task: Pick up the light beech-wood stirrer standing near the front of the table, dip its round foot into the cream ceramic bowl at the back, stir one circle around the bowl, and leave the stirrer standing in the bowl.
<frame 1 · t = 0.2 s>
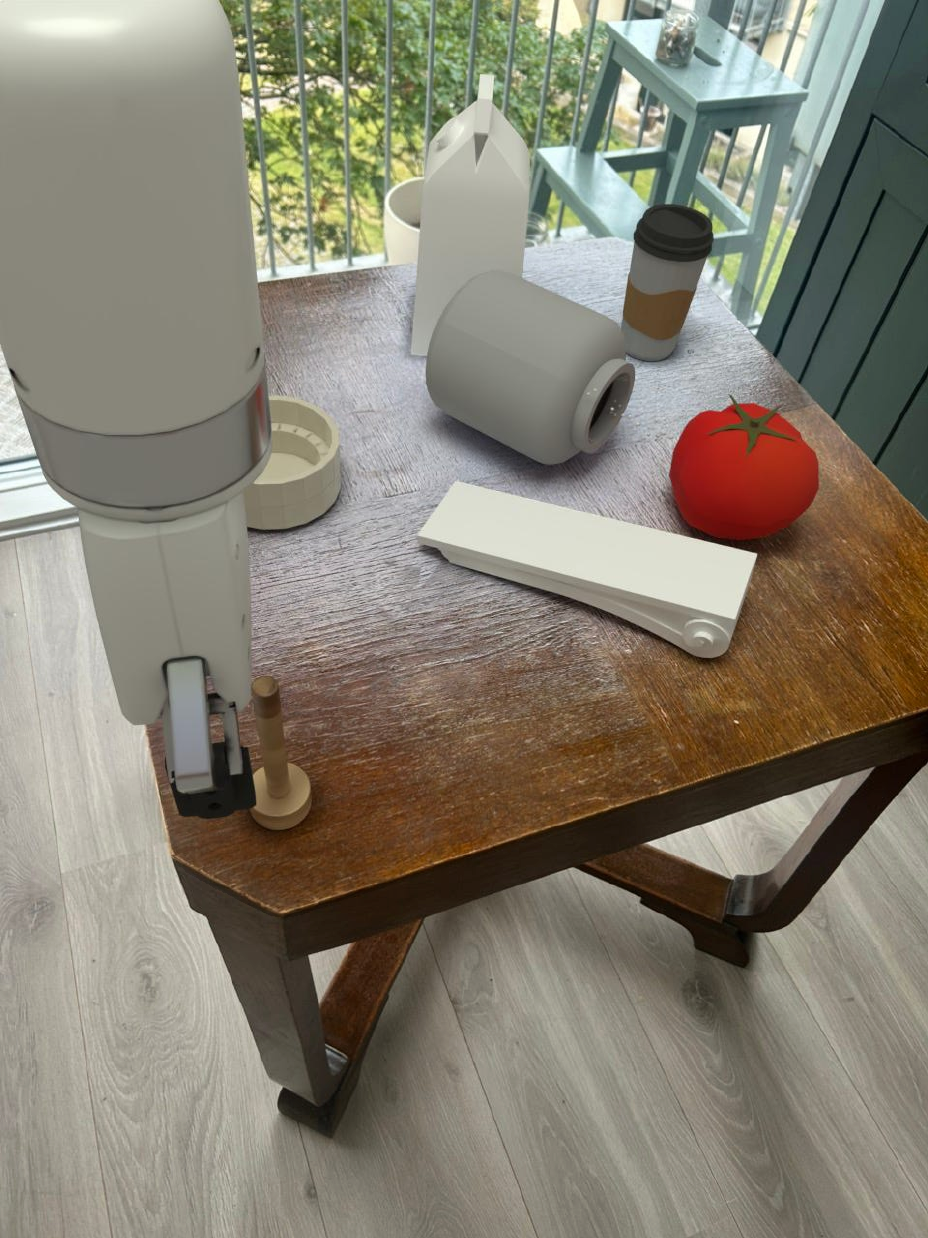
hand: (215, 714, 44), 24 cm above the table, tool pointing down, fingers open, 9 cm apart
pill bottle: (215, 362, 102), on the table
wall bracket: (577, 577, 85), on the table
milk: (464, 330, 110), on the table
bowl: (274, 487, 90), on the table
stirrer: (280, 802, 68), on the table
tomato: (724, 519, 92), on the table
coffee cup: (645, 347, 110), on the table
jar: (559, 439, 98), on the table
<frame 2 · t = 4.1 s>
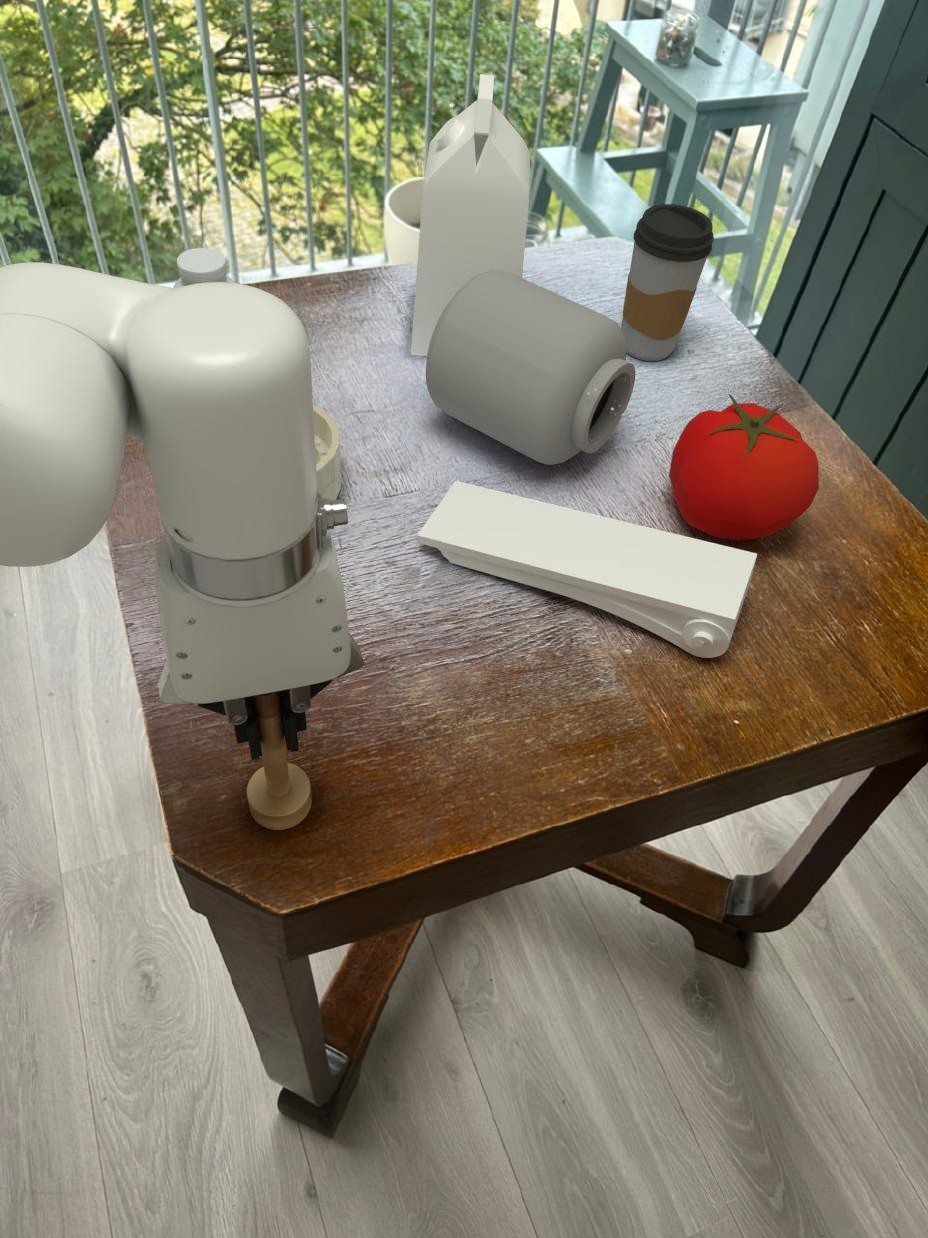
hand: (271, 736, 62), 9 cm above the table, tool pointing down, fingers closed on stirrer
stirrer: (280, 802, 68), on the table, touching gripper
everything else where it was.
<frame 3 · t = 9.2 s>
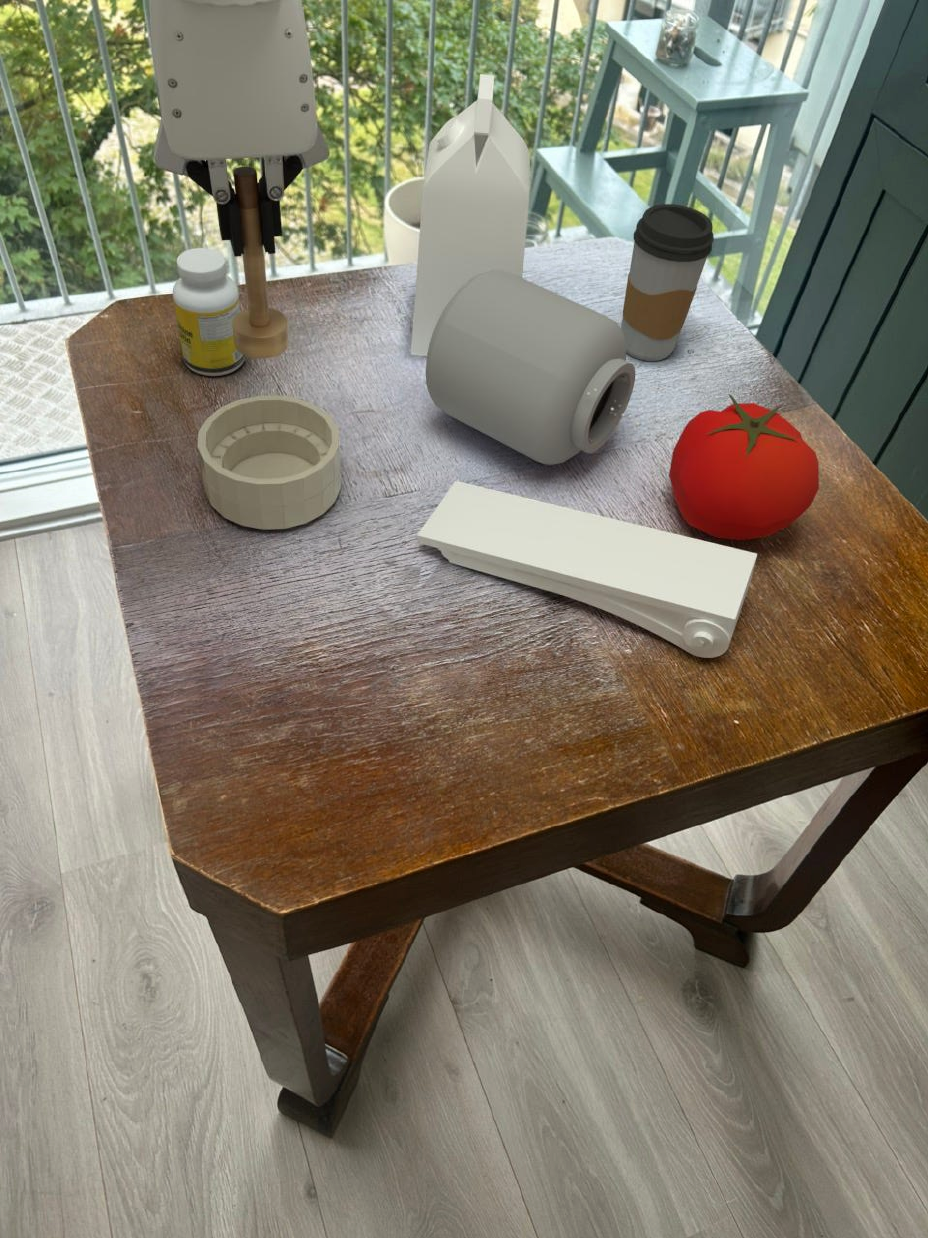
hand: (252, 244, 71), 24 cm above the table, tool pointing down, fingers closed on stirrer
stirrer: (262, 343, 78), point 16 cm above the table, touching gripper
everything else where it was.
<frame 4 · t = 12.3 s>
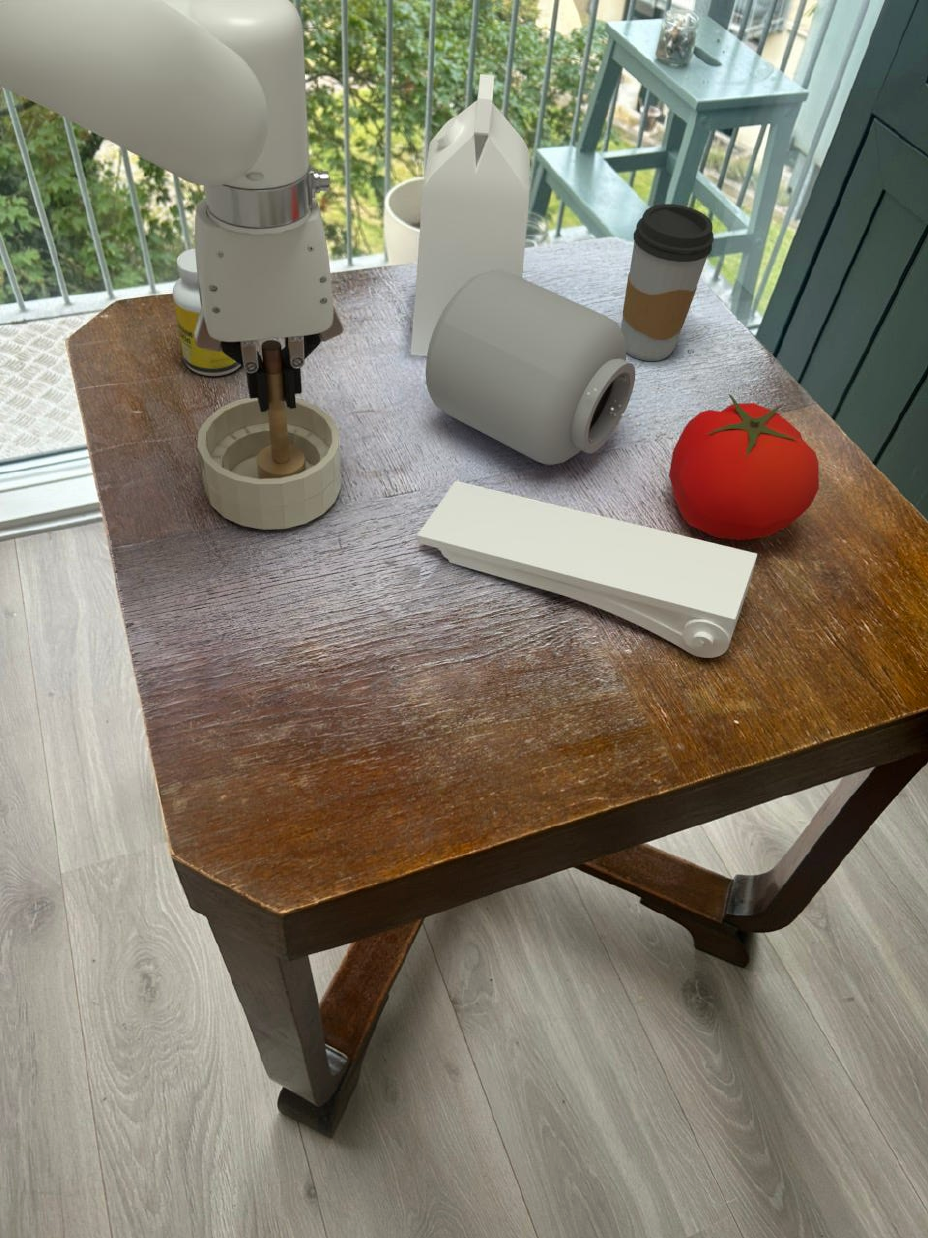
hand: (275, 399, 83), 10 cm above the table, tool pointing down, fingers closed on stirrer
stirrer: (282, 474, 89), point 1 cm above the table, touching gripper
everything else where it was.
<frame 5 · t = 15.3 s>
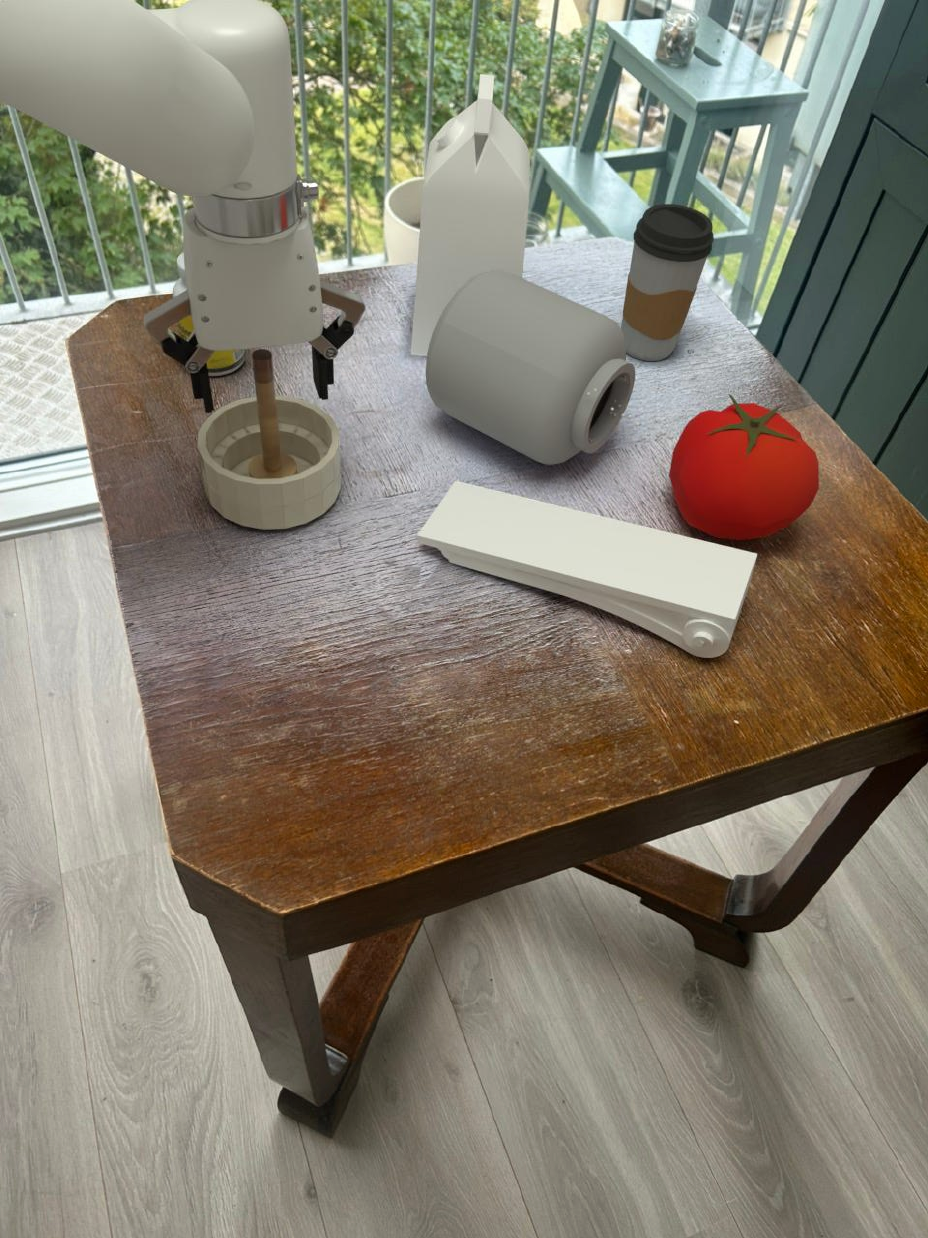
hand: (265, 396, 82), 10 cm above the table, tool pointing down, fingers open, 9 cm apart
stirrer: (274, 483, 89), point 1 cm above the table, touching bowl
everything else where it was.
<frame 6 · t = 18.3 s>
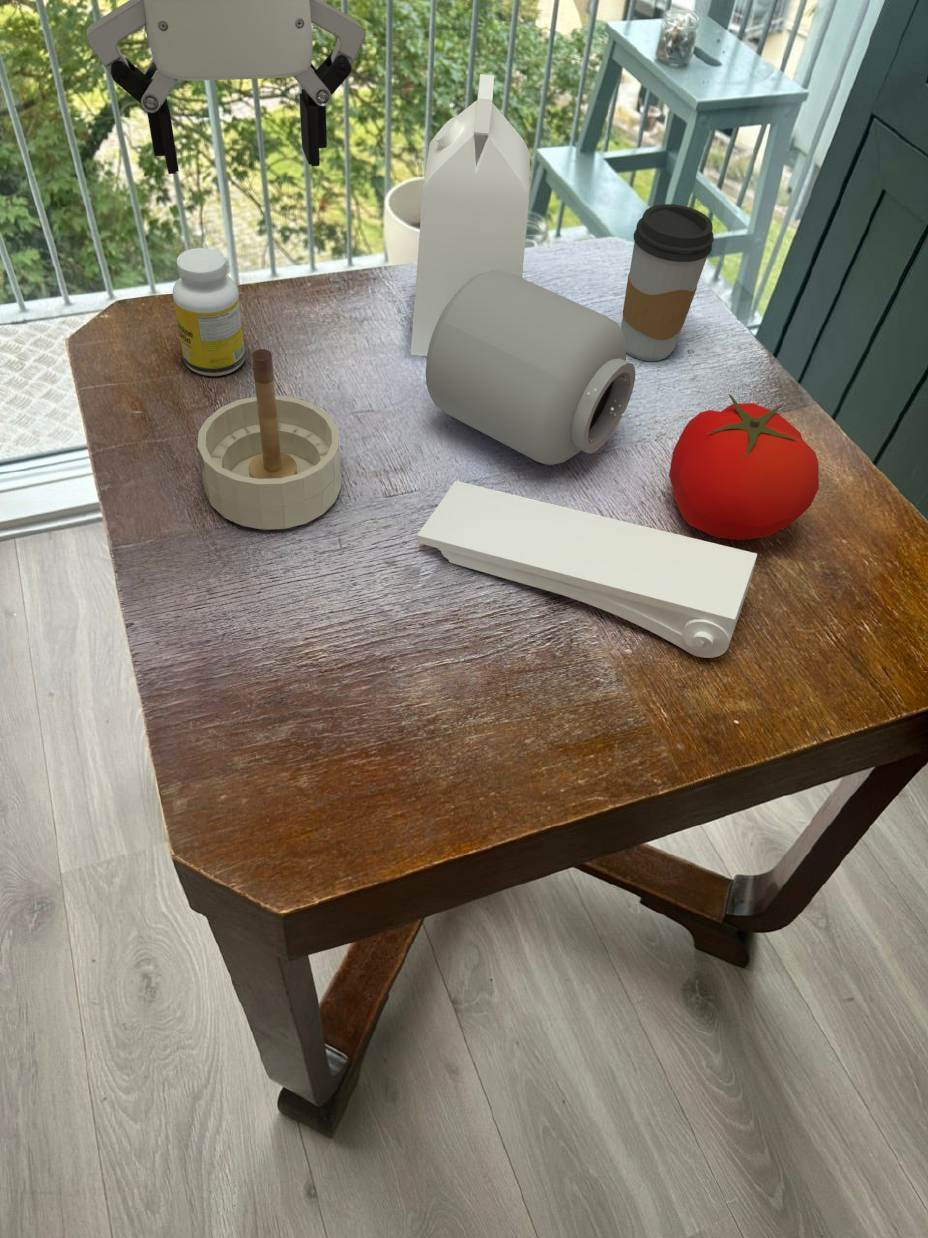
hand: (242, 161, 67), 30 cm above the table, tool pointing down, fingers open, 9 cm apart
nothing on the table moved.
at the end: stirrer 0.0 cm off-centre in the bowl, point 0.6 cm above the bowl's base; stirrer tilted 0°; the gripper is holding nothing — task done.
